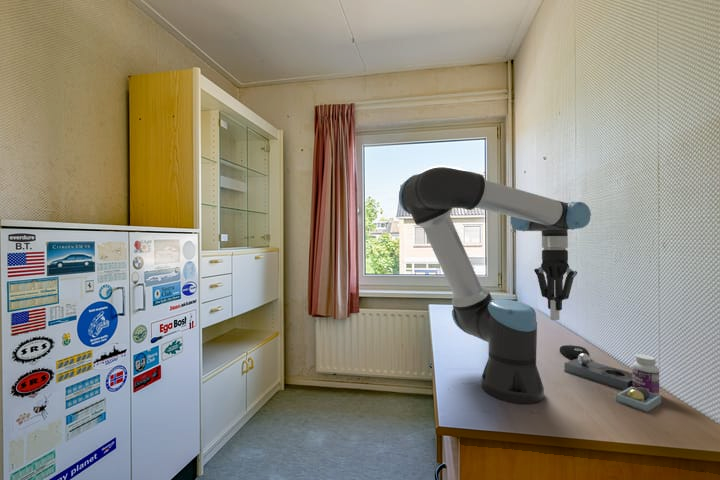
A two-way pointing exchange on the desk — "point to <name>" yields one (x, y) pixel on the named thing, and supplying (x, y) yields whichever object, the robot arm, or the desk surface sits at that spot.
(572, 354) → the computer mouse
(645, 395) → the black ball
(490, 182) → the robot arm
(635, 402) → the parts tray
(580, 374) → the block
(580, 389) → the desk surface
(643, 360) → the pill bottle
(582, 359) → the steel ball
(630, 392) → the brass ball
